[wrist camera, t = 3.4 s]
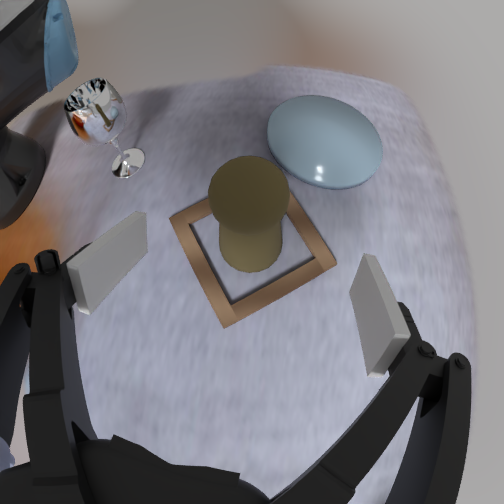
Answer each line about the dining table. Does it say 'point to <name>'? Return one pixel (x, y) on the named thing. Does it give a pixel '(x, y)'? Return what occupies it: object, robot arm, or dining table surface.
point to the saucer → (324, 142)
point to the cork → (249, 211)
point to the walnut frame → (265, 295)
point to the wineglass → (102, 122)
